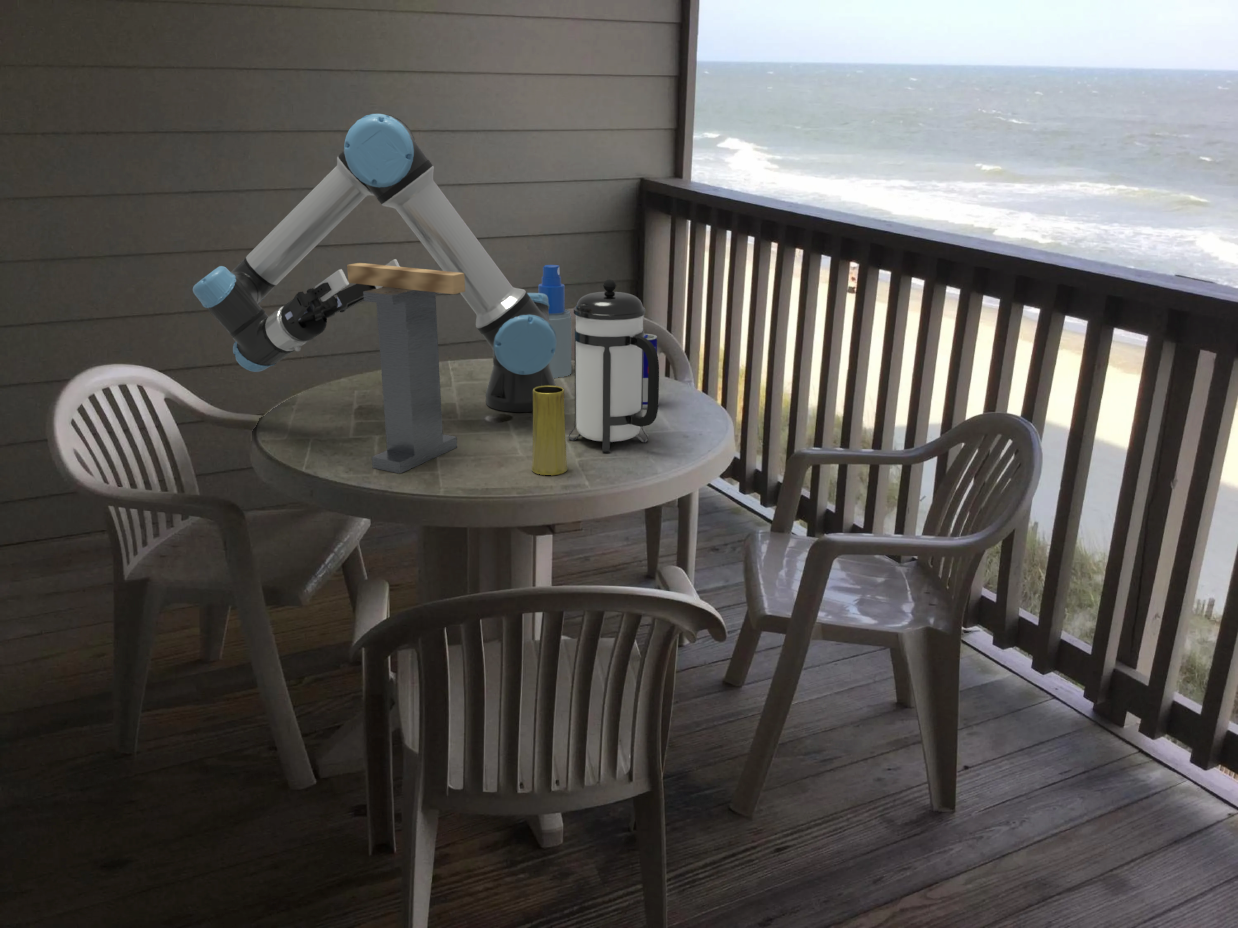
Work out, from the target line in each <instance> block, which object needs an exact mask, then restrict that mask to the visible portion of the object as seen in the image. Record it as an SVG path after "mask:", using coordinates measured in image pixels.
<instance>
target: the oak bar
mask: <svg viewBox="0 0 1238 928" xmlns="http://www.w3.org/2000/svg"><path fill="white" fill-rule="evenodd" d="M346 267H347V280H348V282H349V284H354V285H355V284H364V285H373V286H382V287H392V288H401V289H410V290H419V291H428V292H437V293H438V294H448V295H449V294H450V295H457V294H460V293H462V292H465V277H464V273H459V272H448V271H443V270H435V269H425V268H417V267H407V266H406V267H405V266H400V267H397V266H387V265H386V264H375V263H365V262H356V263H349V264H347V265H346Z"/></svg>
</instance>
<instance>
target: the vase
mask: <svg viewBox="0 0 1238 928" xmlns="http://www.w3.org/2000/svg"><path fill="white" fill-rule="evenodd" d="M565 417H566V416H565V389H564V388H563V387H562V386H559V385H556V386H539V387H535V388H534V389H533V411H532V448H531V449H532V452H531V453H532V454H531V455H532V456H531V458H532V459H531V462H532V463H531V464H532V465H531V471H532V472H533V473H534V474H537V475H539V474H540V476H545V475H551V476H552V477H553V476H559V475H562V474H564V473H566V472H567V471H568V462H567V461H568V459H567V458H568V457H567V442H566V441H567V439H566V420H565V419H566V418H565Z"/></svg>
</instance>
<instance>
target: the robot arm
mask: <svg viewBox="0 0 1238 928" xmlns="http://www.w3.org/2000/svg"><path fill="white" fill-rule="evenodd" d="M343 148H344V149H343V150H342V151H341V152H340V154H339V155H337V157H336V166H335V167H334V168H333V169H332V170H331V171H330V172H329V173H328V174H326V176H324V177H323V179H322V180H321V181H320V182H319V183H318V184H317V185H316V186H315V187H314V188H313V189H312V190H311V191H310V192H309V193H308V194H307V195H306V196H305V197H304V198H303V199H302V200H301V201H300V202H299V203H298V204H297V205H296V206H294V208H292V210H291V211H290V212H289V213H288V214H287V215H286V216H285V217H284V218H283V219H282V220H281V221H280V222H279V223H278V224H277V225H276V226H275V227H274V228H273V229H272V230H271V231H270V232H269V234H267V235H266V236H265V237H264V238H263V239H262V240H261V241H260V242H259V243H258V244H257V245H256V246H255V247H254V248H253V249H252V250H251V251H250V252H249V253H248V254H247V255H246V256H245V257H244V259H242V260H241V261H240V262H239V263H238V264H237V265H236V267H234V268H233V269H232V270H231V271H230V270H229V269H228V268H227V267H225V266H223V265H219V266H218V267H216V268H214V269H213V270H212V271H211V272H210V273H208V274H207V275H205V276H204V277H202V278H201V279H200V280H199V281H197V282H196V283H195V284H194V285H193V287H192V293H193V294H194V296H195V297H196V298H197V299H198V301H199V302H200V303H201V306H202V307H203V308H204V309H205V308H206V310H207V311H208V312H209V313H210V314H211V315H212V316H213V318H215V320H216V321H217V322H218V323H219V324H220V325H221V326H222V327H223V328H224V329H225V331H226V332H227V333H228V334H229V335H230V336H231V338H232V340H234V343H233V346H232V353H233V354H234V357H235V360H236V363H238V364H239V366H241V367H242V368H244V369H245V370H247V371H250V372H255V373H259V372H262V371H265V370H267V369H268V368H270V367H273V366H275V365H277V363H279V362H280V361H282V360H283V359H285V358H286V357H288V356H289V355H291V354H292V353H293V352H300V351H301V350H302V349H301V348H302V346H303V345H305V344H306V343H308V342H309V341H312V340H313V339H315V338H316V337H317V336H319V335H320V334H322V333H323V332H324V331H325V330H326V327H327V324H328V323H327V322H328V321H327V320H328V319H329V318H332V317H333V316H335V315H336V314H337V313H345V311H347V310H349V309H350V308H352V307H353V306H356V305H357V304H359V303H361V302H364V296H363V292H364V291H369V290H373V289H378V288H382V286H373V285H364V284H355V283H354V284H353V285H351V286H349V285H350V283H349V282H348V277H347V276H346V274H345V272H344V270H343V269H342V268H340V269H338V270H335V272H333V273H332V274H331V275H329V276H327V277H326V278H325V279H324V280H322V281H321V282H319V283H317V285H315V286H314V288H312V287H311V288H308V289H307V290H306V293H304V291H298V292H297V293H296V294H295V296H294V297H293V298H292V299H291V300H290V301H288V302H286V304H284V305H283V306H280V307H279V308H278V309H277V310H275V311H274V312H273V313H271V314H269V315H268V314H267V313H266V311H265V310H264V309H263V308H262V306H260V303H261V302H262V301H263V300H264V299H265V298H266V296H267V295H268V294H270V293H271V291H273V289H274V288H275V287H276V286H277V285H278V284H279V283H281V281H282V280H283V279H284V278H285V277H287V275H288V274H290V272H291V271H293V269H294V268H295V267H296V266H297V265H299V264H300V263H301V261H303V259H304V258H305V257H306V256H307V255H309V254H310V252H311V251H312V250H313V249H315V248H316V246H318V245H319V244H320V243H321V241H322V240H324V239H325V238H326V237H327V236H328V235H329V234H330V233H331V232H332V231H333V229H335V228H336V227H337V226H338V225H339V224H340V223H341V222H343V220H344V219H345V218H346V217H347V216H348V215H349V214H350V213H351V212H352V211H353V210H354V209H355V208H356V207H357V206H359V204H360V203H361V202H362V201H363V200H364V199H365V198H366V197H368V196H374V197H375V198H376V200H377V201H378V202H379V204H381V206H382V207H385V208H386V207H387V208H392V209H394V210H396V211H397V213H398V214H399V215H400V217H401V218H402V220H403V221H404V222H405V224H406V225H407V226H408V228H410V229H411V231H412V232H413V233H414V235H415V236H416V237H417V239H418V240H419V242H420V243H421V244H422V246H423V247H424V249H426V251H427V252H428V253H429V255H430V256H431V257H432V259H433V260H434V261H435V263H437V265H438V266H439V268H441V271H448V272H459V273H464V277H465V292H462V293H459V294H460V295H461V296H462V297H463V299H464V300H465V302H466V303H467V304H468V305H469V307H470V308H471V310H473V312H474V313H475V314H476V319H475V327H476V329H477V330H478V331H479V332H480V334H481V335H482V336H483V338H484V339H485V341H486V342H487V343H488V345H489V346H490V347H491V349H492V365H493V366H492V371H491V373H490V376H489V380H488V383H487V387H486V390H485V405H487V406H488V407H489V408H491V409H493V410H497V411H501V412H512V413H513V412H514V413H528V412H529V413H531V412H533V389H534V388H535V387H539V386H557V385H556V381H555V378H553V376H552V373H551V370H550V366H549V363H550V361H551V360H552V358H553V356H554V354H555V350H556V342H557V341H556V334H555V331H554V329H553V328H552V326H551V324H550V322H549V306H550V305H549V303H548V297H547V295H546V294H543V293H538V292H527V291H526V289H523V288H519V287H514V286H512V284H511V283H510V282H509V280H508V279H507V277H506V276H505V275H504V273H503V272H502V270H501V269H500V268H499V267H498V265H497V264H496V262H495V261H494V260H493V258H492V257H491V255H490V254H489V253H488V252H487V251H486V249H485V248H484V246H483V245H482V243H480V241H479V240H478V239H477V237H476V236H475V234H474V233H473V231H472V230H471V229H470V227H469V226H468V225H467V224H466V222H465V220H464V219H463V218H462V217H461V215H460V213H458V211H457V210H456V208H455V207H454V206H453V205H452V203H451V202H450V201H449V199H448V198H447V197H446V195H445V194H444V193H443V191H442V190H441V188H440V187H439V186H438V184H437V183H436V182H435V181H434V170H435V166H434V165H433V164H432V162H431V161H430V160H429V158H428V157H427V156H426V154H425V152H424V151H423V150H422V148H421V147H420V146H419V145H418V143H417V141H416V140H415V136H414V134H413V132H412V131H411V129H410V127H408V125H407V124H406V123H404V122H403V121H402V120H401V119H399V118H397V117H396V116H394V115H393V116H392V115H391V114H385V113H384V114H383V113H371V114H367V115H364V116H363V117H361V118H360V119H357V120H356V121H355V123H353V125H351V126H350V128H349V130H348V131H347V133H346V136H345V139H344V145H343ZM385 265H387V266H397V267H401V266H400V263H399V262H398V260H397V258H394V259H392V260H390V261H389V262H388V263H385ZM344 288H345V289H344ZM335 296H337V297H335Z"/></svg>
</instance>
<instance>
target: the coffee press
mask: <svg viewBox="0 0 1238 928" xmlns="http://www.w3.org/2000/svg"><path fill="white" fill-rule="evenodd" d="M602 286H603V290H604V291H598V292H597V291H596V292H590V293H588V294H585V295H583V296H582V297H580V298H579V299H578V301H577V303H576V306H574V307H573V314H574V316H575V328H574V427H573V428H572V429H571V431H570V432H569V433H568V439H569V440H570V441H572V442H575V441H576V440H577V439H578V438H580V437H583V438H585V439H587V440H592V441H596V442H602V444H601V445H602V448H601V449H602V450H601V451H602V453H606V454H608V453H609V454H610V452H611V443H613V442H614V443H615V442H622V441H623V442H624V441H627V440H631V439H633V438H636V439H637V440H639V441H640V442H641V443H642V444H646V443H647V442H649V434H648V433H647V432H646V430H645V428H644V427H648V426H650V425H652V424H653V423H654V422H655V420H656V419H657V416H658V412H659V398H660V397H659V396H660V394H659V393H660V392H659V391H660V389H659V388H660V363H659V356H658V351H657V352H656V350H655V348H654V346H653V344H652V343H651V342H650V341H649V340H647V339H646V338H644V334H645V329H644V317H645V315H646V308H645V306H643V303H642V301H641V299H639V297H637V296H636V295H633V294H631V293H628V292H623V291H622V292H621V291H615V290H616V288H617V283H616V281H615V280H613V279H611V278H608V279H606V280H605V281H604V283H603V285H602ZM642 350H643V361H644V352H645V354H646V356H647V360H648V406H647V409H646V411H645V412H646V413H645V414H643V413H644V411H643V410H644V409H643V365H642ZM641 402H642V409H641ZM643 415H644V416H643ZM575 428H576V431H577V432H578V435H577V436H575V437H572V436H571V434H572V433H573V432H574V431H575ZM641 430H642V432H643V433H644V435H645V436H646V439H642V437H641V436H639V435H638V434H639V433H640V432H641Z"/></svg>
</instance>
